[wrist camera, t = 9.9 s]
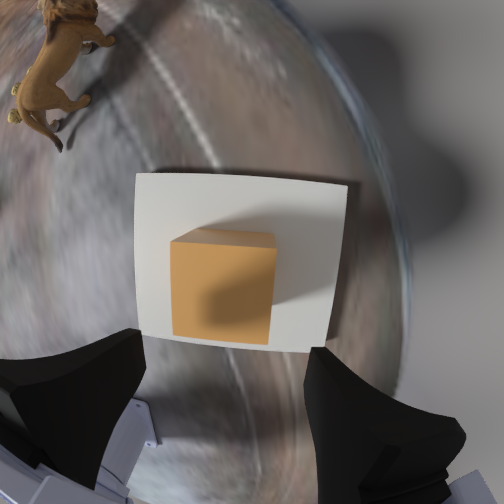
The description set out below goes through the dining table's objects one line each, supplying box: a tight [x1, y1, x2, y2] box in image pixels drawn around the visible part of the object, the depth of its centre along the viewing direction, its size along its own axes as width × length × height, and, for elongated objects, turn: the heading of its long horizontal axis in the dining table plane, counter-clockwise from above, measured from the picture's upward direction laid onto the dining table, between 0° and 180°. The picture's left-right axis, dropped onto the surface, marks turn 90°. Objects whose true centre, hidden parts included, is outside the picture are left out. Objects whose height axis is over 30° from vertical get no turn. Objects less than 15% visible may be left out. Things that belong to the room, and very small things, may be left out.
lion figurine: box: [16, 0, 115, 153], centre depth 12 cm, size 15×5×9 cm, turn 172°
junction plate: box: [134, 173, 348, 353], centre depth 17 cm, size 14×12×5 cm
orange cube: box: [170, 228, 277, 345], centre depth 15 cm, size 5×5×5 cm
